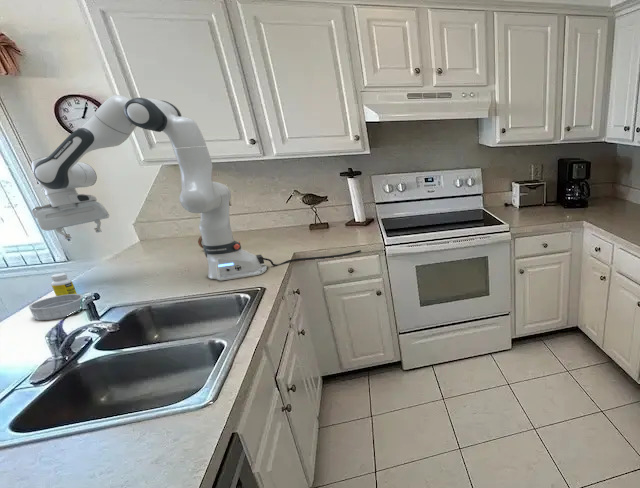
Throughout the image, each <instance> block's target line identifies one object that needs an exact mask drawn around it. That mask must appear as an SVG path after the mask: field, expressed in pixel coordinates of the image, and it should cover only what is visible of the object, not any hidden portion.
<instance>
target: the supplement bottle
mask: <svg viewBox="0 0 640 488" xmlns="http://www.w3.org/2000/svg"><path fill="white" fill-rule="evenodd" d="M50 278H51V280H52V282H51V283H50V284H51V287H52V289H53V292H54V294H55V296H60V295H68V294H78V293H77V291H76V288H75V285H74V283H73V281H72V279H70V278H68V275H67V273H65V272H62V273H60V272H59V273H55V274H52V275H50Z"/></svg>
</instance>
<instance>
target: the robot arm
mask: <svg viewBox="0 0 640 488" xmlns="http://www.w3.org/2000/svg"><path fill="white" fill-rule="evenodd" d="M137 127H138V128H140V129H143V130H147V131H152V132H157V133H161V132H162V133H164V134H165V135H166V136H167V137H168V139H169V142H170V144H171V147H172V151H173V153H174V156H175V158H176V162H177V164H178V168H179V172H180V183H181V191H180V194H179V195H178V196H179V197H178V198H179V199H178V200H179V204H180V206H181V207H182V208H183V209H184V210H185V211H187V212H188V213H191V214H200V220H199V223H198V229H199V233H200V236H201V237H202V240H203V244H204V245H203V248H202V250H203V253H204V255H205V258H206V259H207V260H206V261H207V266H208V267H207V268H208V274H207V277H208V279H211V280H218V281H220V282H221V281H228V280H234V279H242V278H248V277H254V276H260V275H262V274H264V273H266V271H267V269H268V266H267V265H266V264H265V261H268V262H270V264H271V265H272V266H274V267H278V266H281V265H284V264H285V265H286V264H287V263H289V262H295V261H296V262H297V261H305V260H306V261H307V260H319V259H328V258H329V259H330V258H337V257H344V256H349V255H353V254H356V253H361V252H362V250H361V249H359V250H355V251H351V252H348V253H341V254H340V253H339V254H334V255H324V256H312V257H311V256H310V257H299V258H291V259H287V260H285V261H284V262H281V263H278V264H277V263H274V262H273V260H272V259H270V258H266V257H264V256H263V255H262V254H254V253H252V252H249V251H247V250H245V249H243V248H242V245H241V241H240V240H239V241H237V240H235V239H234V235H233V231H232V227H231V221H230V220H231V219H230V201H231V197H232V193H231V191H230V189H229V187H228V186H227V185H225V184H223V183H222V182H217V181H213V178H212V174H213V173H212V172H213V169H214V165H213V162H212V159H211V155H210V153H209V149H208V146H207V143H206V141H205V138H204V135H203V133H202V132H201V129H200V127H199V125H198V123H197V122H196V121H195V120H194V119H192V118H190V117H187V116H182V113H181V111H180V109H179V108H178V107H177V106H176V105H175V104H172V103H170V102H168V101H166V100H160V99H156V98H152V97H135V98H129V97H127V96H124V95H122V94H114V95H111V96H110V97H108V98H107V99H106V100H105V101H103V102H102V104H101V105H100V106H98V108H97V109H96V111H95V112H94V113H93V114H92V116H91V117H90V118H89V119H88V120H87V121H86V122H85V123H84V124H83V125H81V126H80V127H78V128H77V129H76V130H74V131H73V132H71V133H70V134H69V135H68V136H67V137H66V138H65V139H64V140H63V141H62V142H61V143H60V145H59V146H58V147H56V149H54V150H53V152H52V153H50V155H49V156H43V157H39V158H36V159H34V160H33V161H32V162H31V166H30V167H31V170H32V173H33V176H34V178H35V180H36V182H37V183H38V185H39V186H40V187H41V188H42V189H43V191H44V195H45V198H46V200H47V201H48V203H49V204H43V205H38V206H35V207H34V208H33V209H31V213H32V215H33V217H34V218H35V219H37V223H38V226H39V227H40V229H41V230H43V231H45V232H46V231H47V232H48V231H49V232H50V231H53V230H55V231H56V232H57V233H59V234H60V235H61V236H63V237H64V239H65V240H70V239H72V236H71V235H70V233H67V234H66V233H65V232H64V229H63V228H68V227H69V228H70V227H73V226H78V225H83V224H87V223H92V222H94V224H96V227H94V228H93V229H94V231H95V233H97V234H98V233H102V229H101V226H102V222H101V220H107V219H109V218H110V213H109V211H108V210H107V209H106V208H105V206H104V205H103V204H102V203H101V202H100V201H98V199H97V197H96V196H95V195H92V194H84V193H80V194H79V193H78V191H77V189H78V188H89V187H92V186H94V185H95V184H96V182H97V179H98V178H97V177H98V176H97V175H98V174H97V173H96V170H95V169H94V168H93V167H92V166H91V165H90V164H88V163H86V162H81V161H80V160H81V159H82V158H83V157H84V156H85V155H87V154H88V153H90V152H92V151H96V150H100V149H106V148H114V147H118V146H120V145H122V144H123V143H124V142H126V141H127V140H128V139H129V138H130V136H131V135H132V134H133V132H134V131H135V129H136V128H137Z"/></svg>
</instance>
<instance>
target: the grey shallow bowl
mask: <svg viewBox="0 0 640 488" xmlns="http://www.w3.org/2000/svg"><path fill="white" fill-rule="evenodd" d="M82 297H84V295H83V294H82V293H81V294H80V293H77V294H68V295H60V296H56V295H55V296H51V297H48V298H44V299H39V300H37V301H35V302H33V303H31V304H29V306H28V309H29V310H30V313H31V315H32V317H33V319H35V320H39V321H50V320H52V321H53V320H58V319H63V318H67V317H66V316H67V315H69V314H70V313H72V312H74V311H77V310H79V309H80V301H81V299H82Z"/></svg>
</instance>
